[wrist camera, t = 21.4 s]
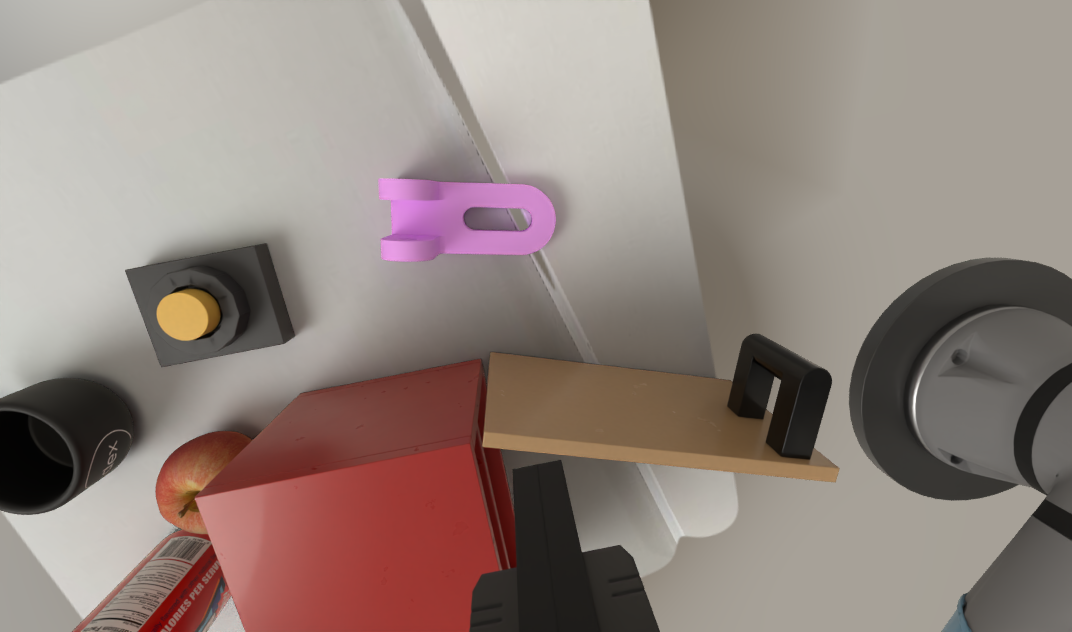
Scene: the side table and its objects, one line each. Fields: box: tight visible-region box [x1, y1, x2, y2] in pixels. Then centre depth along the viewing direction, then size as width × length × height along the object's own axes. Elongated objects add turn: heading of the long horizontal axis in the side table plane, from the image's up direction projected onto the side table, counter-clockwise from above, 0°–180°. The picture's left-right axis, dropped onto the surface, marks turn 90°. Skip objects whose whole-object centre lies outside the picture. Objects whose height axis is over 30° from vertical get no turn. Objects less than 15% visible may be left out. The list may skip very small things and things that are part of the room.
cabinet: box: [195, 359, 517, 632], centre depth 40 cm, size 16×22×16 cm
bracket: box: [378, 179, 556, 262], centre depth 39 cm, size 13×6×7 cm, turn 88°
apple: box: [155, 431, 252, 534], centre depth 42 cm, size 8×8×8 cm
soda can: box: [72, 530, 232, 632], centre depth 41 cm, size 8×8×15 cm
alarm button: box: [157, 289, 221, 341], centre depth 38 cm, size 4×4×2 cm
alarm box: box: [125, 244, 295, 367], centre depth 41 cm, size 10×8×4 cm
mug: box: [0, 378, 134, 515], centre depth 41 cm, size 12×9×7 cm
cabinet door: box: [482, 334, 839, 482], centre depth 38 cm, size 7×22×16 cm, turn 82°
